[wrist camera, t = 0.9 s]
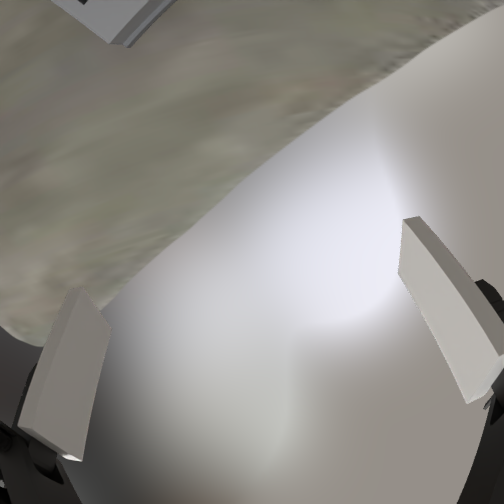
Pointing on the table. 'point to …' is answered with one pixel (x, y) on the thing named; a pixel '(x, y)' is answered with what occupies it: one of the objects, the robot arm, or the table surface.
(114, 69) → the table surface
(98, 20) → the mount
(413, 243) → the robot arm
